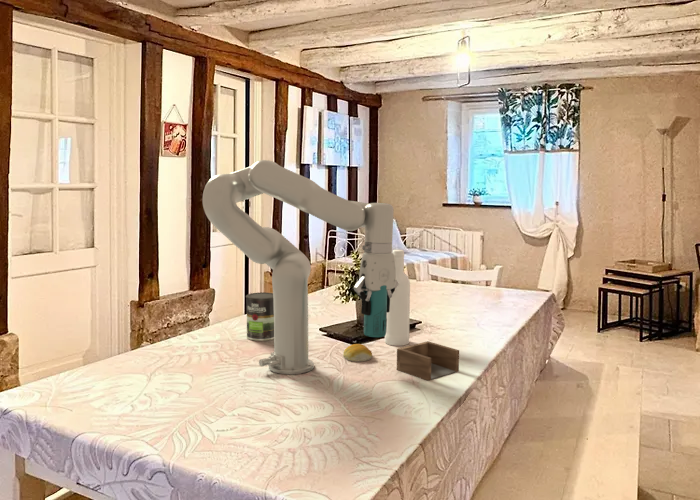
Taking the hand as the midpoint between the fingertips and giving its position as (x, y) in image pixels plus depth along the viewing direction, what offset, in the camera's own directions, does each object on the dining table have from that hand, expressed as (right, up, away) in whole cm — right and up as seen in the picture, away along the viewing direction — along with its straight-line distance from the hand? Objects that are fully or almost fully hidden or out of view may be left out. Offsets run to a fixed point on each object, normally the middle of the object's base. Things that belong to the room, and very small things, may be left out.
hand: (375, 312), depth 173 cm
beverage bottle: (0, -8, +1) cm, 8 cm away
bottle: (+8, -13, +29) cm, 33 cm away
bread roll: (-5, -15, +13) cm, 20 cm away
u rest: (+15, -16, +1) cm, 22 cm away
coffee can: (-36, -12, +35) cm, 52 cm away
